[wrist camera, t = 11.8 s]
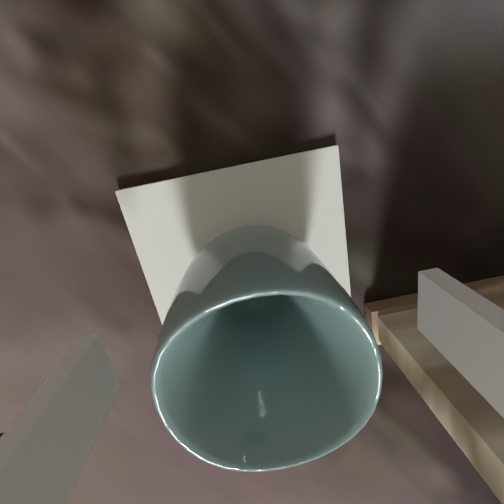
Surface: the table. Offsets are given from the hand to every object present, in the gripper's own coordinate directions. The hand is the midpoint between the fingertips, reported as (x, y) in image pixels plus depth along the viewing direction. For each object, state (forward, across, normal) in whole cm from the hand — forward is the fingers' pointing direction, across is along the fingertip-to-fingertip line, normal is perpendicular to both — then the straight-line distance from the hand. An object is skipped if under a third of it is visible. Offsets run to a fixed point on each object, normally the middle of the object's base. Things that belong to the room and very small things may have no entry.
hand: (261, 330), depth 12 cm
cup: (+7, 0, 0) cm, 7 cm away
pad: (+8, 0, -1) cm, 8 cm away
